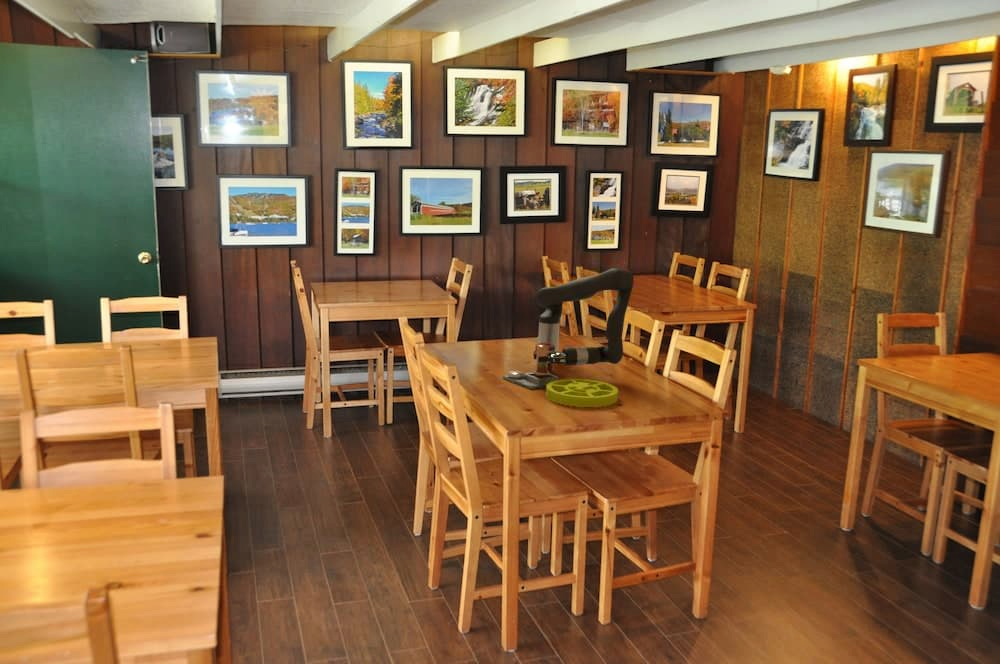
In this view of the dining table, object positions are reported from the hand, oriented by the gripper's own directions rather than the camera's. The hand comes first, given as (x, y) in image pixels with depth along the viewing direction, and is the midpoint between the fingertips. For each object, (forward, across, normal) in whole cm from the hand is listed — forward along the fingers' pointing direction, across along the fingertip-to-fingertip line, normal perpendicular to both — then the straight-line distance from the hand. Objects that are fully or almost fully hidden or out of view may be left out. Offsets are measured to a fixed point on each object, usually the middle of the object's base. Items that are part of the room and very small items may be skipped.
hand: (536, 358), depth 364 cm
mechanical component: (-11, -20, +11) cm, 25 cm away
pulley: (-11, +23, +12) cm, 28 cm away
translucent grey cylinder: (-3, 0, +7) cm, 7 cm away
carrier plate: (0, -2, +11) cm, 11 cm away
